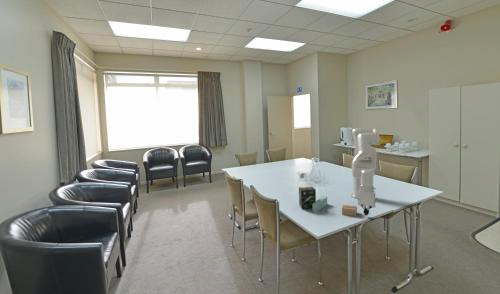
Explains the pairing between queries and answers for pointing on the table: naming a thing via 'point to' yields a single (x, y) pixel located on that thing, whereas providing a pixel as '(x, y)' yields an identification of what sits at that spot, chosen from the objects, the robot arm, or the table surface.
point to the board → (319, 204)
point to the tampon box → (307, 197)
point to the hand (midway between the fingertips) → (366, 214)
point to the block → (349, 210)
